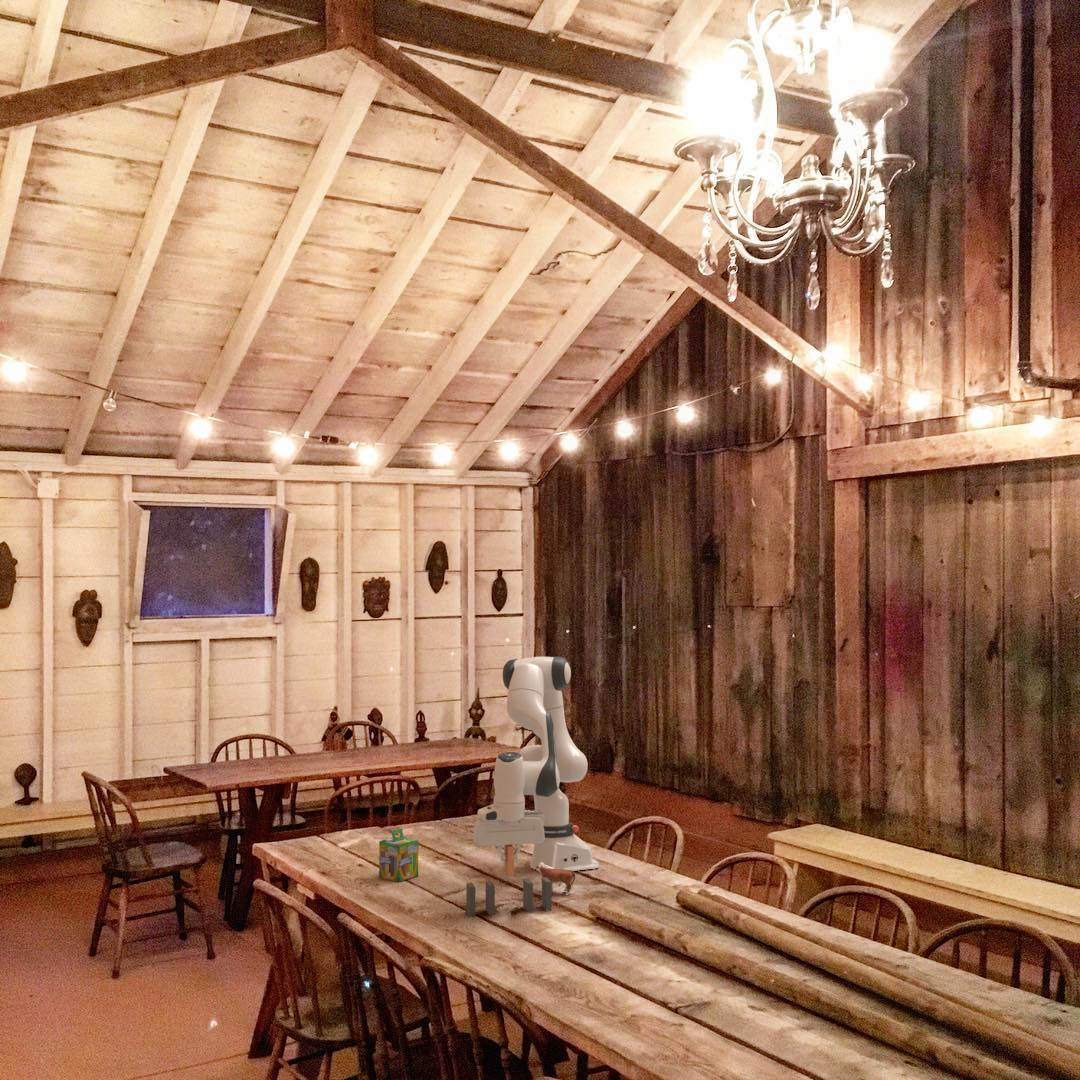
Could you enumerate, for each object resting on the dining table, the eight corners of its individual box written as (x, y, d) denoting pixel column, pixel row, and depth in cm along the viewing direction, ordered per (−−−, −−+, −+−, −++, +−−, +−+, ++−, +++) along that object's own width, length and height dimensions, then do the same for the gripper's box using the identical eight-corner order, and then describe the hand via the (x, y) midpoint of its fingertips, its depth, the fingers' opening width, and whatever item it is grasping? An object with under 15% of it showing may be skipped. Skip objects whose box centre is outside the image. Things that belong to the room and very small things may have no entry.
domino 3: (509, 871, 309) (509, 842, 310) (513, 875, 305) (513, 846, 305) (504, 871, 309) (504, 843, 309) (508, 875, 304) (508, 847, 305)
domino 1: (471, 911, 306) (472, 882, 307) (475, 916, 302) (475, 887, 302) (466, 911, 306) (466, 883, 306) (469, 916, 301) (469, 887, 301)
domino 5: (547, 905, 312) (547, 877, 312) (551, 910, 307) (551, 881, 308) (541, 905, 311) (541, 877, 312) (546, 910, 307) (546, 882, 307)
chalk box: (398, 883, 335) (399, 834, 336) (377, 878, 341) (378, 830, 341) (419, 876, 342) (419, 829, 343) (398, 872, 348) (399, 825, 348)
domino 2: (490, 909, 308) (491, 881, 308) (494, 914, 303) (494, 885, 303) (485, 910, 307) (485, 881, 308) (489, 915, 303) (489, 886, 303)
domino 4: (528, 906, 310) (528, 878, 311) (532, 911, 306) (532, 883, 306) (523, 907, 310) (523, 879, 310) (527, 912, 305) (527, 883, 306)
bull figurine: (538, 887, 331) (538, 860, 331) (577, 893, 324) (577, 866, 324) (531, 890, 327) (531, 863, 327) (570, 897, 320) (570, 869, 320)
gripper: (541, 807, 313) (541, 855, 313) (472, 810, 308) (471, 859, 307) (547, 811, 307) (547, 861, 307) (476, 815, 302) (476, 865, 301)
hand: (508, 860), depth 307 cm, fingers closed on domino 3, 2 cm apart
